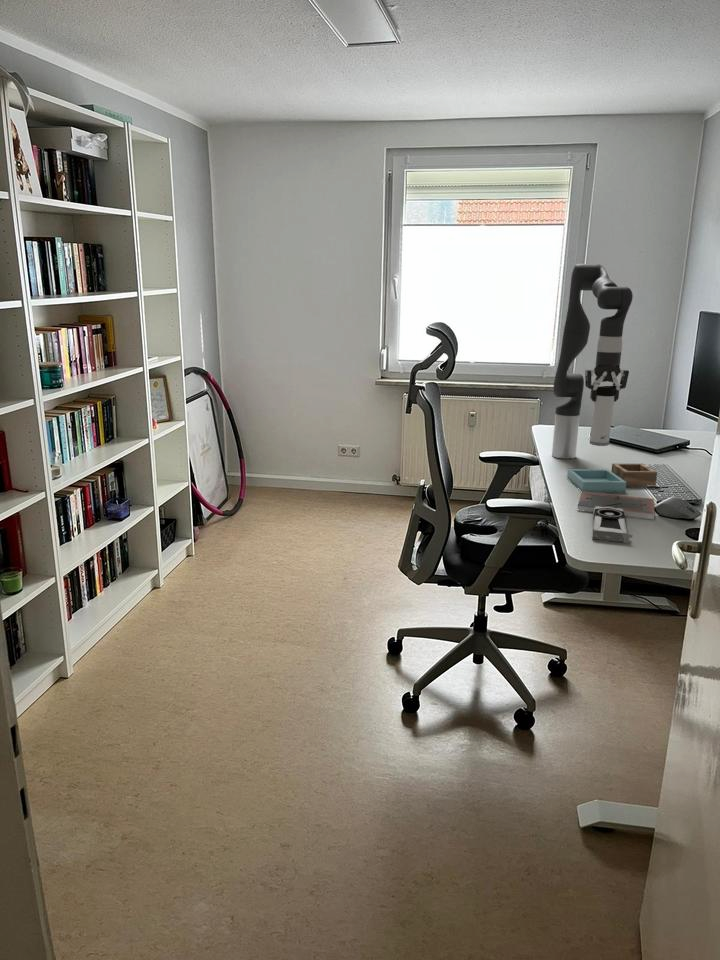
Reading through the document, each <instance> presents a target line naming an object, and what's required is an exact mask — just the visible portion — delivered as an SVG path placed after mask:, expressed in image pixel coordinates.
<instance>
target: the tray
mask: <svg viewBox="0 0 720 960" xmlns="http://www.w3.org/2000/svg"><path fill="white" fill-rule="evenodd" d="M566 476H567V477H566V479H567V478H568V479H569V480H570V481H571V482H572V483H573V484H574V485H575V487H576V488H577V489H578V488H579V489H580V490H581V491H584V492H594V493H626V489H627V486H626V482H625V481H624V480H623V479H621V478H620V477H618V476H617V475H615V474H614V473H612V472H611V470H610V469H567V475H566ZM568 479H567V480H568ZM569 480H568V481H569ZM570 481H569V482H570ZM571 482H570V483H571ZM572 483H571V484H572ZM573 484H572V485H573ZM574 485H573V486H574ZM579 489H578V490H579ZM580 490H579V491H580ZM581 491H580V492H581Z"/></svg>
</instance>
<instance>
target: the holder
mask: <svg viewBox="0 0 720 960" xmlns="http://www.w3.org/2000/svg"><path fill="white" fill-rule="evenodd" d="M610 471H611V472H612V473H614V474H615V475H617V476H618V477H620V478H621V479H623V480H624V481H625V482H626V487H648V486H647V485H656V484H657V477H658V471H656V470H655V469H653V468H651V467H649V466H647V465H646V464H644V463H619V462H618V463H617V462H616V463H611V470H610Z"/></svg>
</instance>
